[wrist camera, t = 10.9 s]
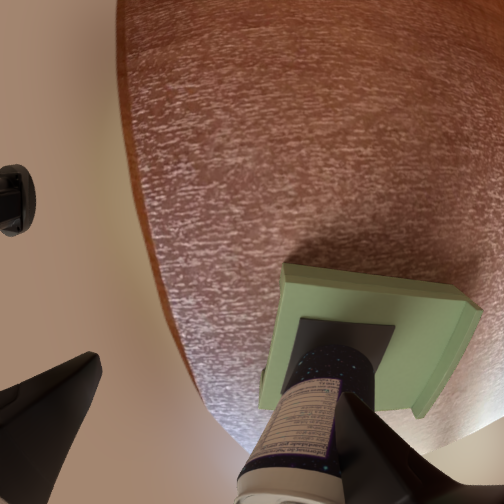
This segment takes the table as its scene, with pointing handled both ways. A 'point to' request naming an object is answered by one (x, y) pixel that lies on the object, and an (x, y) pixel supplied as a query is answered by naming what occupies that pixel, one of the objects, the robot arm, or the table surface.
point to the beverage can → (306, 431)
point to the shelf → (371, 331)
